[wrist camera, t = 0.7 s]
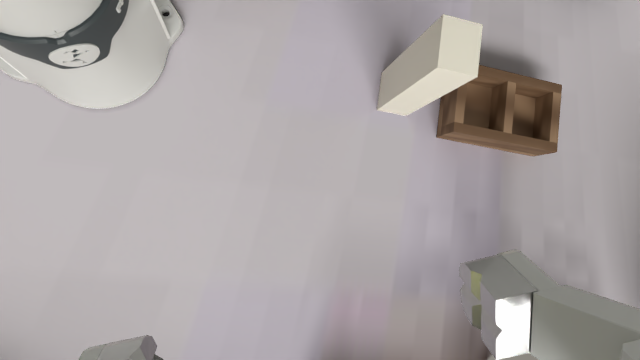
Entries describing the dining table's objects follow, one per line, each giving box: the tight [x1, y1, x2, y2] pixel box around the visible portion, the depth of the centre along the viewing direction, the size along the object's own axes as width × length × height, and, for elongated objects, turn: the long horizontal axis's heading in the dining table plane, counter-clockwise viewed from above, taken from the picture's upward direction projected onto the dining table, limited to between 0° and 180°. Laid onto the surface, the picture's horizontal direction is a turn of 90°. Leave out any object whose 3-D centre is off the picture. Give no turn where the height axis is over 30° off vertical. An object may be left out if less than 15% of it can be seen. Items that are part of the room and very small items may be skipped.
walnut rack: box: [437, 65, 562, 156], centre depth 49 cm, size 9×15×4 cm, turn 82°
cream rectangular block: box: [377, 14, 483, 116], centre depth 41 cm, size 5×4×15 cm
